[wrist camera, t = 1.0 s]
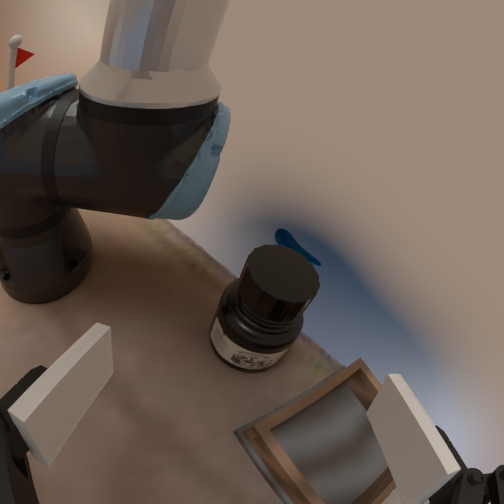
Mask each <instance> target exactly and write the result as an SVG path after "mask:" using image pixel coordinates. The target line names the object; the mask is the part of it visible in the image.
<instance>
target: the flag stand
mask: <svg viewBox="0 0 504 504" xmlns="http://www.w3.org/2000/svg"><path fill="white" fill-rule="evenodd" d="M21 42H22V37H21V36H20V35H15V36H14V37H12V38H11V40H10V41H9V47H10V48H11V53H10V61H9V70H8V83H7V90H9V89H11V88H14V75H15V68H17V67H18V66H19V65H20V64H22V63H23V62H24V61H26V60H27V59H28V58H30V57H31V56H33V55H34V54H33V53H30V52H28V51H25V50H22V49H20V48H18V46H19V45H20V44H21Z"/></svg>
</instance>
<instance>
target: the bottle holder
mask: <svg viewBox="0 0 504 504" xmlns="http://www.w3.org/2000/svg"><path fill="white" fill-rule="evenodd" d="M381 386H382V385H381V384H380V383H379V382H378V380H377V379H376V378H375V376H374V375H373V374H372V373H371V371H370V370H369V368H368V367H367V366H366V364H365V363H364V362H363V361H362V359H361V358H359V359H358V360H356V361H355V362H354V363H352V364H351V365H350V366H348V367H347V368H346V367H345V366H343V367H342V368H340V369H339V370H338V371H336V372H335V373H333V374H332V375H330V376H329V377H327V378H326V379H324V380H323V381H321V382H320V383H318V384H317V385H315V386H314V387H312V388H311V389H309V390H307V391H306V392H304V393H303V394H301V395H299V396H298V397H296V398H294V399H293V400H291V401H289V402H288V403H286V404H284V405H283V406H281V407H279V408H277V409H275V410H274V411H272V412H270V413H268V414H266V415H265V416H263V417H261V418H259V419H257V420H255V421H253V422H251V423H249V424H247V425H245V426H243V427H241V428H239V429H237V430H235V431H234V434H235V435H236V437H237V438H238V440H239V441H240V443H241V445H242V446H243V448H244V449H245V451H246V452H247V454H248V455H249V457H250V458H251V460H252V461H253V462H254V464H255V465H256V467H257V468H258V470H259V471H260V472H261V474H262V475H263V477H264V478H265V479H266V481H267V482H268V484H269V485H270V486H271V488H272V489H273V490H274V492H275V493H276V494H277V495H278V497H279V498H280V499H281V501H282V502H283V503H284V504H381V503H382V502H383V501H384V500H385V499H386V498H387V497H388V495H389V494H390V493H391V492H392V491H393V490H394V489H395V487H396V484H395V482H394V479H393V477H392V474H391V472H390V469H389V467H388V464H387V462H386V459H385V457H384V454H383V452H382V450H381V447H380V445H379V442H378V440H377V438H376V435H375V433H374V431H373V428H372V426H371V424H370V421H369V419H368V417H367V415H366V412H367V411H368V409H369V407H370V406H371V404H372V402H373V400H374V399H375V397H376V395H377V393H378V392H379V390H380V388H381Z"/></svg>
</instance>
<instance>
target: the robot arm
mask: <svg viewBox="0 0 504 504" xmlns="http://www.w3.org/2000/svg"><path fill="white" fill-rule="evenodd" d="M229 2H230V0H110V4H109V9H108V14H107V19H106V24H105V29H104V35H103V41H102V48H101V55H100V60H99V61H98V63H96V65H95V66H93V67H92V68H91V69H90V70H89V71H88V72H87V73H86V74H85V75H84V76H83V77H82V79H81V80H80V83H79V89H76V86H77V84H78V81H77V79H76V75H75V74H73V73H70V74H66V73H65V74H59V75H54V76H49V77H45V78H41V79H38V80H34V81H31V82H28V83H25V84H22V85H19V86H16V87H14V88H11V89H9V90H6V91H4V92H2V93H0V281H1V284H2V286H3V287H4V289H5V290H6V292H7V293H8V294H9V295H11V296H12V297H13V298H15V299H17V300H19V301H22V302H27V303H43V302H48V301H51V300H54V299H57V298H59V297H61V296H63V295H65V294H66V293H68V292H69V291H71V290H72V289H73V288H75V287H76V286H77V285H78V284H79V283H80V282H81V280H82V279H83V278H84V277H85V275H86V273H87V272H88V270H89V267H90V265H91V261H92V245H91V237H90V234H89V231H88V229H87V227H86V225H85V223H84V221H83V219H82V217H81V215H80V213H79V211H78V209H77V208H80V209H87V210H94V211H101V212H108V213H115V214H122V215H128V216H135V217H142V218H146V219H150V220H152V219H155V218H159V219H173V220H181V219H185V218H188V217H190V216H191V215H192V214H193V213H194V212H195V211H196V210H197V209H198V208H199V206H200V205H201V203H202V202H203V200H204V198H205V196H206V194H207V192H208V189H209V187H210V185H211V182H212V180H213V178H214V175H215V172H216V170H217V167H218V164H219V161H220V153H221V151H222V149H223V147H224V144H225V142H226V138H227V134H228V130H229V125H230V110H229V108H228V107H227V106H225V105H223V103H221V102H218V97H219V94H220V91H221V85H220V83H219V81H218V80H217V78H216V77H215V75H214V74H213V72H212V71H211V69H210V68H209V61H210V58H211V54H212V51H213V48H214V45H215V42H216V39H217V35H218V33H219V30H220V27H221V24H222V21H223V18H224V15H225V13H226V10H227V7H228V4H229ZM113 373H114V369H113V357H112V342H111V327H109V326H106V325H103V324H101V323H98V322H97V323H96V324H94V325H93V326H92V327H91V328H90V329H89V330H88V331H87V332H86V333H85V334H84V335H83V336H81V337H80V338H79V339H78V340H77V341H76V342H75V343H74V344H73V345H72V346H71V347H70V348H69V349H68V350H67V351H66V352H64V353H63V354H62V355H61V356H60V357H59V358H58V359H57V360H56V361H55V362H54V363H53V364H52V365H51V366H50V367H49V368H48V369H47V368H46V367H44V366H42V365H41V366H38V367H36V368H34V369H31V370H30V371H29V372H28V373H27V374H26V375H25V376H24V378H22V379H21V380H20V381H19V382H18V384H16V385H15V386H13V387H12V388H11V389H10V390H9V391H8V392H7V393H6V394H5V395H4V396H3V397H2V398H1V399H0V504H39V501H38V498H37V495H36V491H35V488H34V484H33V480H32V476H31V472H30V467H29V462H28V458H27V455H26V453H27V452H28V450H30V451H31V453H32V454H33V456H34V458H36V459H37V460H39V461H41V462H42V463H44V464H45V465H47V466H49V467H51V466H52V464H53V462H54V461H55V459H56V458H57V456H58V454H59V453H60V451H61V450H62V448H63V447H64V445H65V444H66V442H67V440H68V439H69V437H70V436H71V434H72V433H73V431H74V430H75V428H76V427H77V425H78V424H79V422H80V421H81V419H82V418H83V416H84V415H85V413H86V412H87V411H88V409H89V408H90V406H91V405H92V403H93V402H94V400H95V399H96V397H97V396H98V395H99V393H100V392H101V390H102V389H103V387H104V386H105V385H106V383H107V382H108V380H109V379H110V378H111V376H112V375H113ZM366 415H367V417H368V419H369V421H370V424H371V426H372V428H373V431H374V433H375V435H376V438H377V440H378V442H379V445H380V447H381V450H382V452H383V454H384V457H385V459H386V462H387V464H388V467H389V469H390V472H391V474H392V477H393V479H394V482H395V484H396V487H397V489H398V492H399V494H400V497H401V500H402V502H403V504H423V503H424V502H425V501H426V500H428V499H429V501H430V503H429V504H488V503H489V502H490V501H491V504H504V465H500V466H499V467H497V469H496V470H495V471H494V472H493V473H489V474H483V473H482V472H481V471H480V470H478V469H476V468H470V469H468V468H467V467H466V465H465V464H464V462H463V460H462V459H461V457H460V456H459V454H458V452H457V451H456V449H455V448H454V447H453V445H452V443H451V441H449V438H448V437H447V435H446V434H445V432H444V431H443V430H442V429H440V428H439V427H438V426H434V424H433V423H432V421H431V420H430V418H429V416H428V415H427V414H426V412H425V410H424V409H423V408H422V406H421V404H420V403H419V401H418V400H417V398H416V397H415V395H414V394H413V393H412V391H411V390H410V388H409V387H408V385H407V384H406V382H405V381H404V379H403V378H402V377H401V375H400V374H388V375H387V376H386V378H385V380H384V382H383V384H382V386H381V388H380V390H379V392H378V393H377V395H376V397H375V399H374V400H373V402H372V404H371V406H370V407H369V409H368V411H367V412H366Z"/></svg>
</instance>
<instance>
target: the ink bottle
mask: <svg viewBox="0 0 504 504" xmlns="http://www.w3.org/2000/svg"><path fill="white" fill-rule="evenodd" d="M319 287H320V284H319V275H318V274H317V272H316V270H315V268H314V267H313V265H312V264H311V263H310V262H309V261H308V260H307V259H306V258H305V257H304V256H303V255H301V254H299V253H297V252H296V251H294V250H292V249H291V248H287V247H283V246H280V245H267V244H266V245H263V246H261V247H258V248H255V249H254V250H253V251H252V253H251V254H250V255H249V256H248V258H247V260H246V263H245V265H244V268H243V270H242V273H241V275H240V278H238V279H236V280H234V281H233V282H231V283H230V284H229V285H228V286H227V287H226V289H225V290H224V292H223V294H222V296H221V299H220V301H219V304H218V307H217V310H216V313H215V316H214V318H213V321H212V324H211V328H210V341H211V345H212V347H213V349H214V351H215V353H216V354H217V356H218V357H219V358H220V359H221V360H222V361H224V362H225V363H226V364H228V365H230V366H232V367H234V368H236V369H239V370H242V371H248V372H257V371H263V370H266V369H268V368H270V367H271V366H273V365H274V364H275V363H276V362H277V361H278V360H279V359H280V358H281V357H282V356H283V354H284V353H285V352H286V351H287V350H288V349H289V347H290V346H291V345H292V344H293V342H295V340H296V339H297V337H298V336H299V334H300V332H301V330H302V326H303V313H304V311H305V310H306V308H307V307H308V306H309V304H310V303H311V301H312V300H313V299H314V297H315V296H316V294H317V291H318V289H319Z"/></svg>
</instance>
